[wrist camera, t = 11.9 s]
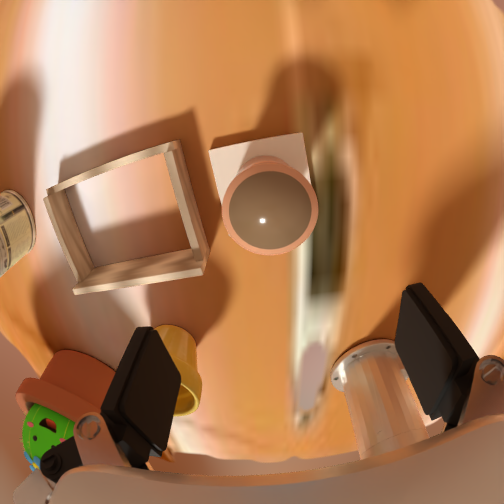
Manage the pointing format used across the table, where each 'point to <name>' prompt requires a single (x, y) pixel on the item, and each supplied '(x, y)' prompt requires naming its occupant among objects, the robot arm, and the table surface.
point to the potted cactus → (60, 400)
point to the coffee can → (14, 229)
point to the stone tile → (235, 155)
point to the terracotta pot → (269, 207)
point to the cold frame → (138, 269)
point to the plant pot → (183, 367)
